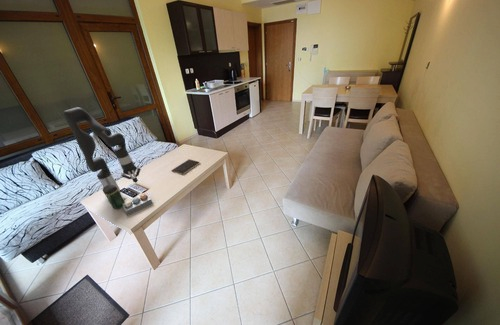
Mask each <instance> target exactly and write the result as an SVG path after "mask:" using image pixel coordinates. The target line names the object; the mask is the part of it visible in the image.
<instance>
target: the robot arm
mask: <svg viewBox="0 0 500 325" xmlns="http://www.w3.org/2000/svg"><path fill="white" fill-rule="evenodd" d="M62 115H63V118H64V120H65V121H66V123H67V125H68V127H69V128H70V131H71V132H72V133H73V136H74V138H75V140H76V142H77V144H78V147H79V149H80V151H81V152H82V154H83V156H84V159H85V161H86V162H85V163H86V164H87V167H88V169H89V170H90V171H91V172H93V173H97V175H96V177H97V179H98V180H99V182H100V183H101V186H102V187H105V186H107V185H114V186H116V187H117V189H118V191H119V193H120V191H121V189H120V187H119V185H118V183H117V181H116V179H115V178H114V176H113V175H112V173H111V171H110V169H109V167H108V165H107V162H106V161H105V159H104V158H103V157H101V156H99V157H96V158H94V154H95V151H96V148H97V145H96V142H95V139H94V138H93V136H92V135H91V134H89V133H87V132H85V131H84V130H82V129H81V128H80V127H79V125H78V124H79V123H82V122H88V124H89V128H90V131H91V132H92V133H93V134H95V135H96V136H98V137H99V138H100V139H102V140H103V142H105V144H106V146H108V147H109V148H110V147H111V148H114V147H116V148H115V149H114V150H113V151H114V154H115V157H116V158H117V161H118V163H119V165H120V167H121V169H122V173H121V175H120V176H121V178H124V179H128V180H132V181H133V183H138V181H139V180H138V178H137V177H139V174H141V173H140V172H141V170H142V169H141V167H137V166H135V163H134V162H133V159H132V157H131V155H130V154H129V152H128V150H127V146H126V140H125V137H124V135H123V134H122V133H120V132H116V133H113V134H112V131H111V129H109V128H107V127H106V126H104V125H102V124H101V123H100V122H98V120H96V119H95V118H94V117H93V116H92V115H90V114H89V113H88V112H87V111H86V110H85V109H84V108H82V107H73V108H70V109H67V110H64V111H62ZM98 171H99V172H98Z"/></svg>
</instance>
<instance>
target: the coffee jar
mask: <svg viewBox="0 0 500 325" xmlns="http://www.w3.org/2000/svg"><path fill="white" fill-rule="evenodd" d="M102 187H103V186H102ZM102 192H103V194H104V196H105V197H106V198H107V200H108V202H109V203H110V205H111V207H112V208H113V209H115V210H119V209H122V208H124V207H123V205H122V204H123V203H125V202H126V201H125V200H124V198H123V196H122V194H121V193H120V192H119V191H118V189H117V187H116V186H114V185H107V186H105V187H103V188H102Z"/></svg>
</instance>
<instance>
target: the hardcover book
mask: <svg viewBox="0 0 500 325" xmlns="http://www.w3.org/2000/svg"><path fill="white" fill-rule="evenodd" d="M199 164H200V161H197V160H192V159H187V160H185V161H184V162H182V163H180V164H179V165H177V166H176V167H174V168H172V170H171V172H172V173H175V174H179V175H182V176H184V175H185V174H187V172H189V171H191V170H192V169H193V168H195V167H196V166H198V165H199Z"/></svg>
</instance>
